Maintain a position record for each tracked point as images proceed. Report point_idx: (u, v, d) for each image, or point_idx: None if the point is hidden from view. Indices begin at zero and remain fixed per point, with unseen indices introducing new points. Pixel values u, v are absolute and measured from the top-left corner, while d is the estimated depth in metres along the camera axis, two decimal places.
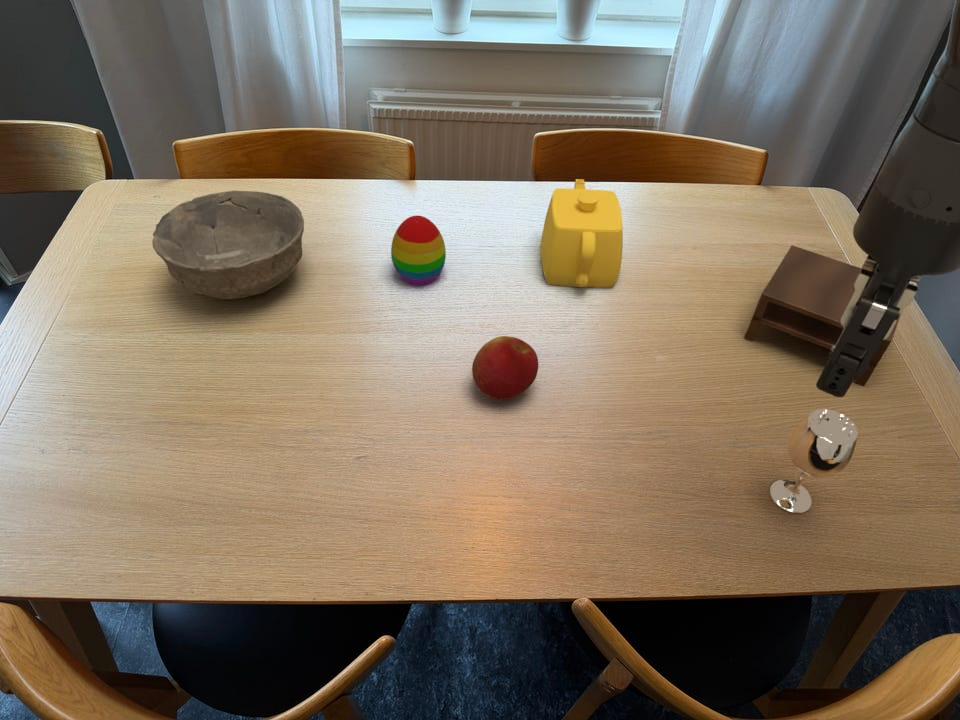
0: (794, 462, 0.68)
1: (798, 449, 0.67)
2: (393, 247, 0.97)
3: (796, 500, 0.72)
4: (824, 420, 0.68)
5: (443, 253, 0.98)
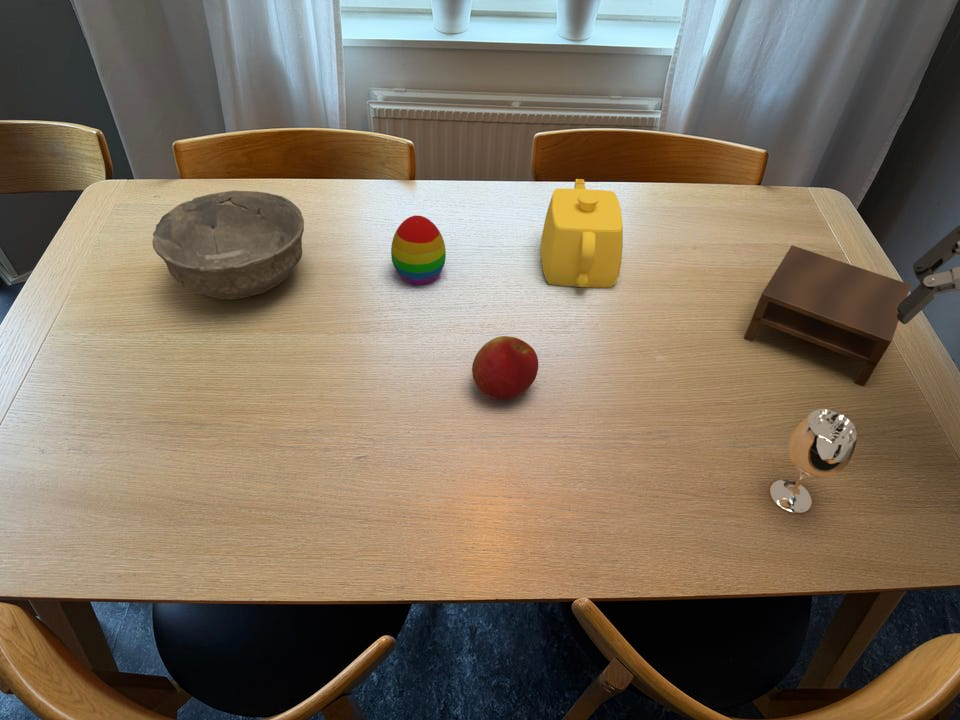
0: (794, 462, 0.68)
1: (798, 449, 0.67)
2: (393, 247, 0.97)
3: (796, 500, 0.72)
4: (824, 420, 0.68)
5: (443, 253, 0.98)
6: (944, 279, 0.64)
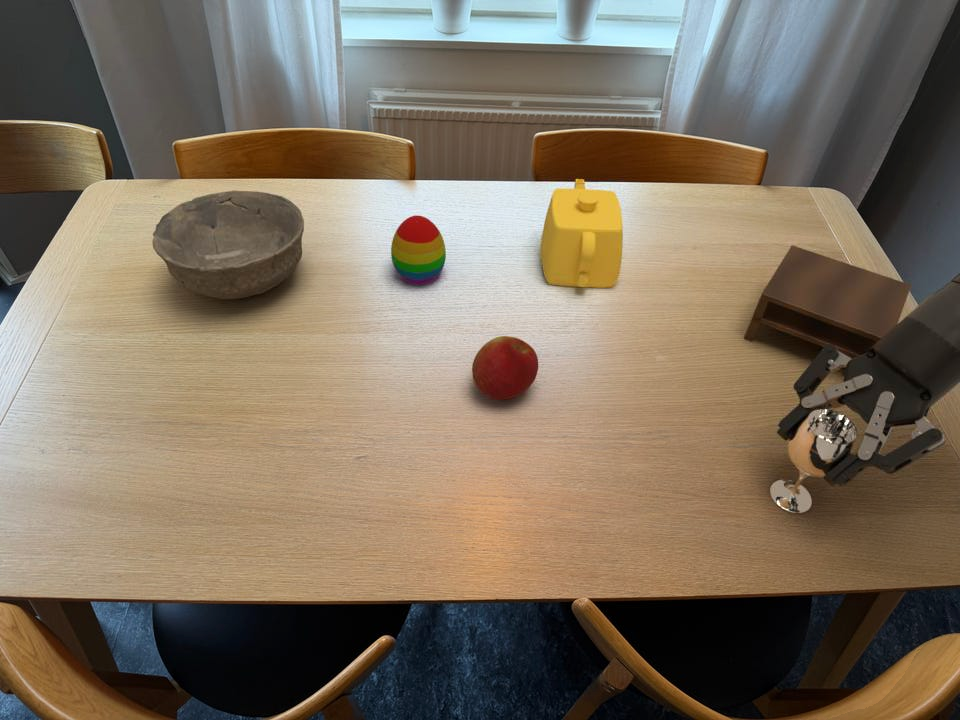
0: (794, 462, 0.68)
1: (798, 449, 0.67)
2: (393, 247, 0.97)
3: (796, 500, 0.72)
4: (824, 420, 0.68)
5: (443, 253, 0.98)
6: (819, 400, 0.67)
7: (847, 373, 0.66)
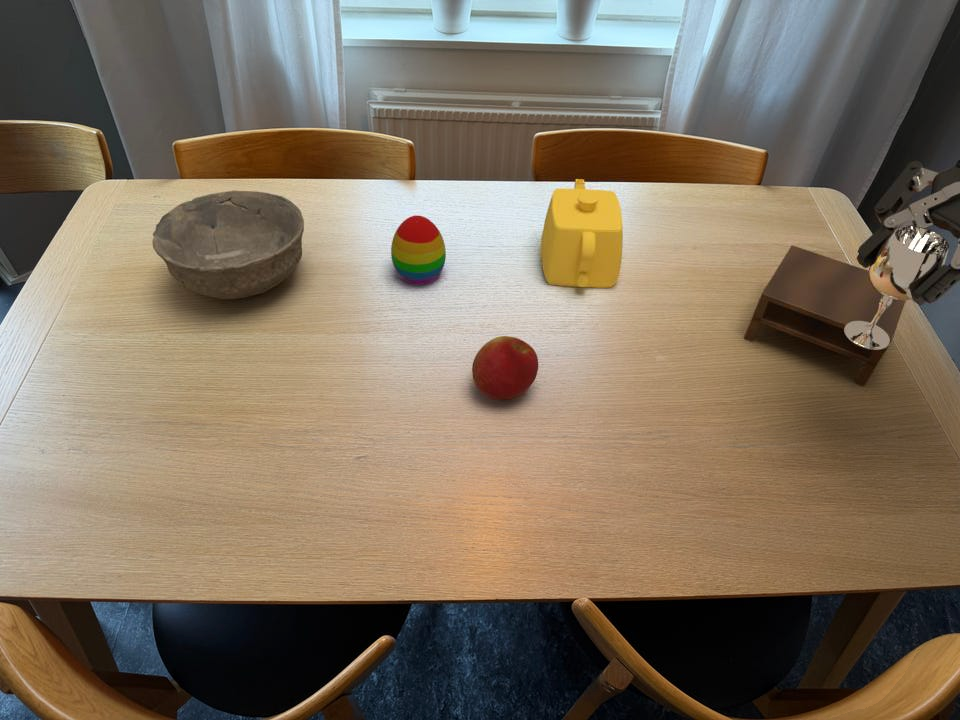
0: (877, 285, 0.64)
1: (882, 269, 0.63)
2: (393, 247, 0.97)
3: (873, 337, 0.68)
4: (908, 241, 0.64)
5: (443, 253, 0.98)
6: (904, 217, 0.63)
7: (935, 187, 0.62)
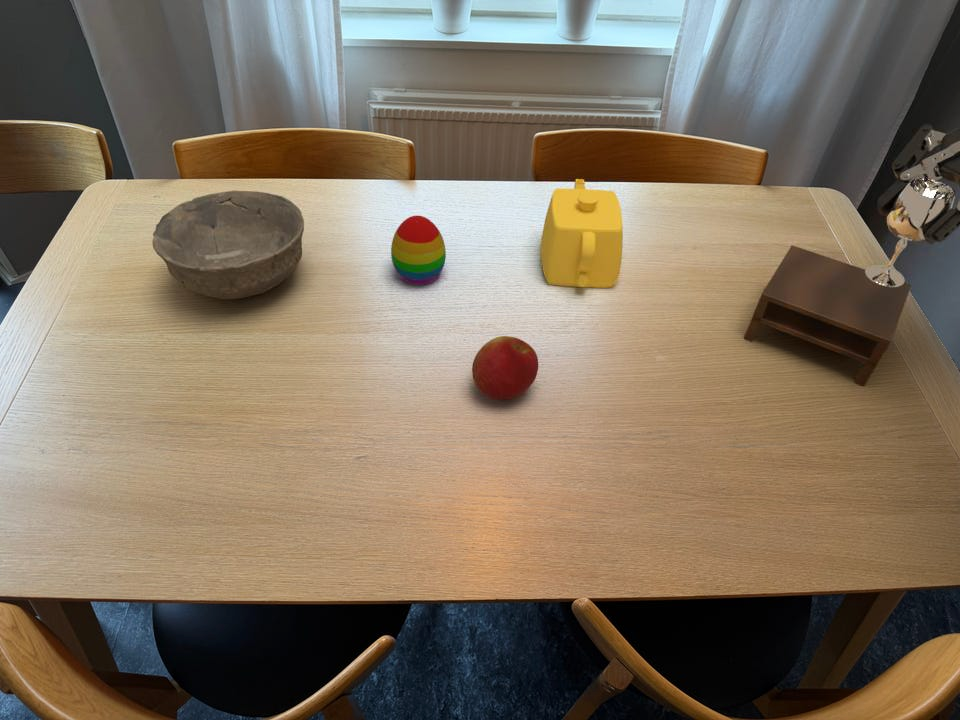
0: (894, 228, 0.75)
1: (899, 214, 0.74)
2: (393, 247, 0.97)
3: (890, 277, 0.80)
4: (920, 192, 0.76)
5: (443, 253, 0.98)
6: (917, 171, 0.75)
7: (944, 145, 0.74)
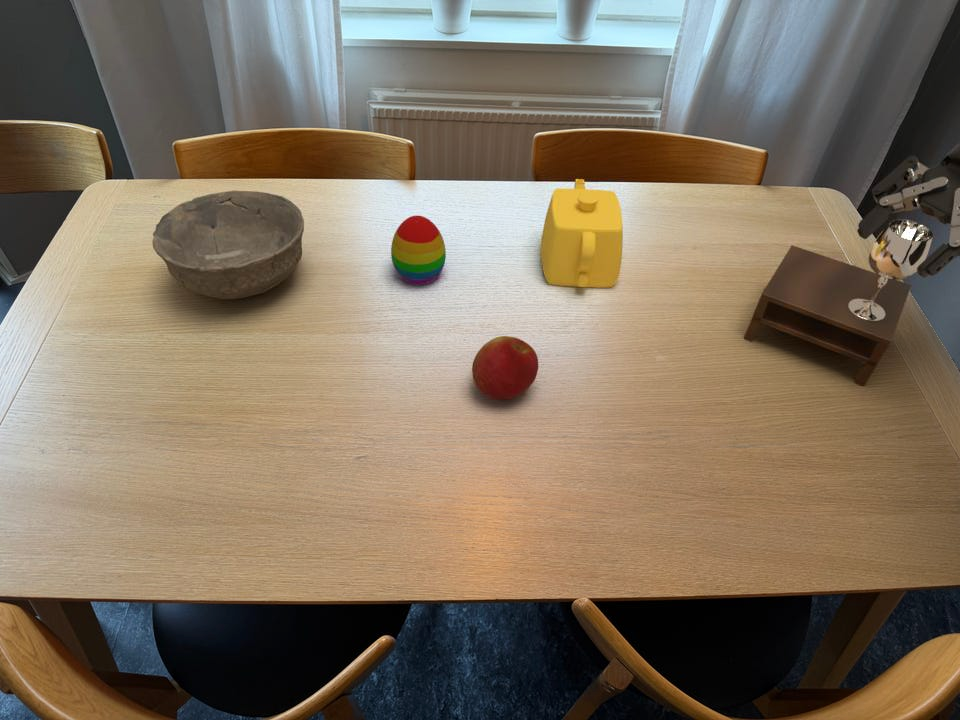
0: (875, 267, 0.79)
1: (879, 253, 0.78)
2: (393, 247, 0.97)
3: (872, 311, 0.84)
4: (900, 232, 0.80)
5: (443, 253, 0.98)
6: (896, 199, 0.78)
7: (924, 181, 0.77)
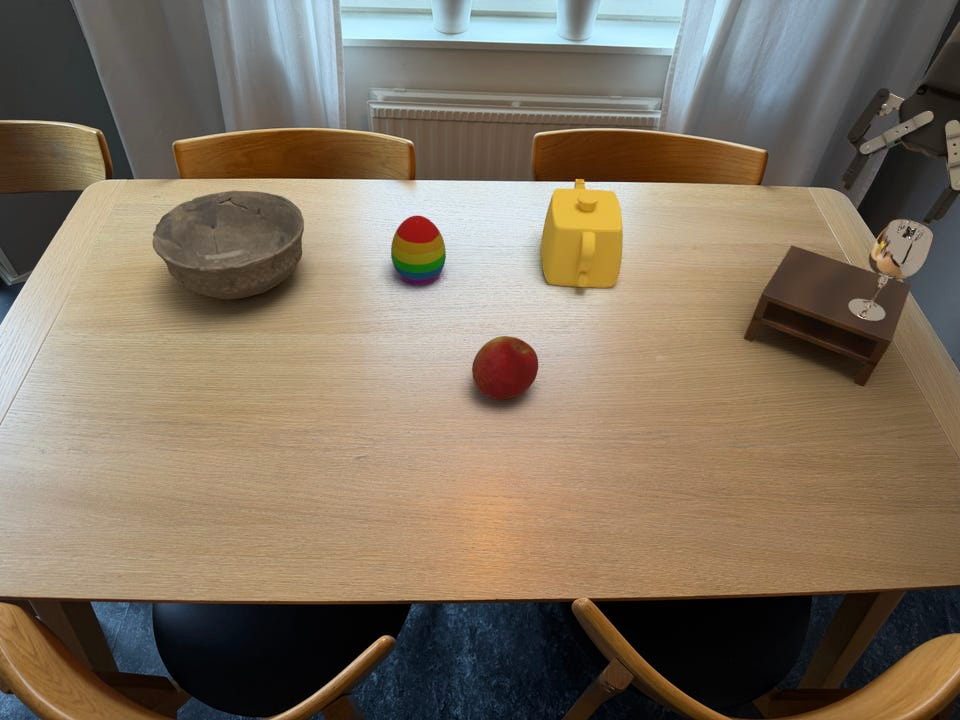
0: (875, 267, 0.79)
1: (879, 253, 0.78)
2: (393, 247, 0.97)
3: (872, 311, 0.84)
4: (900, 232, 0.80)
5: (443, 253, 0.98)
6: (878, 144, 0.70)
7: (904, 117, 0.69)
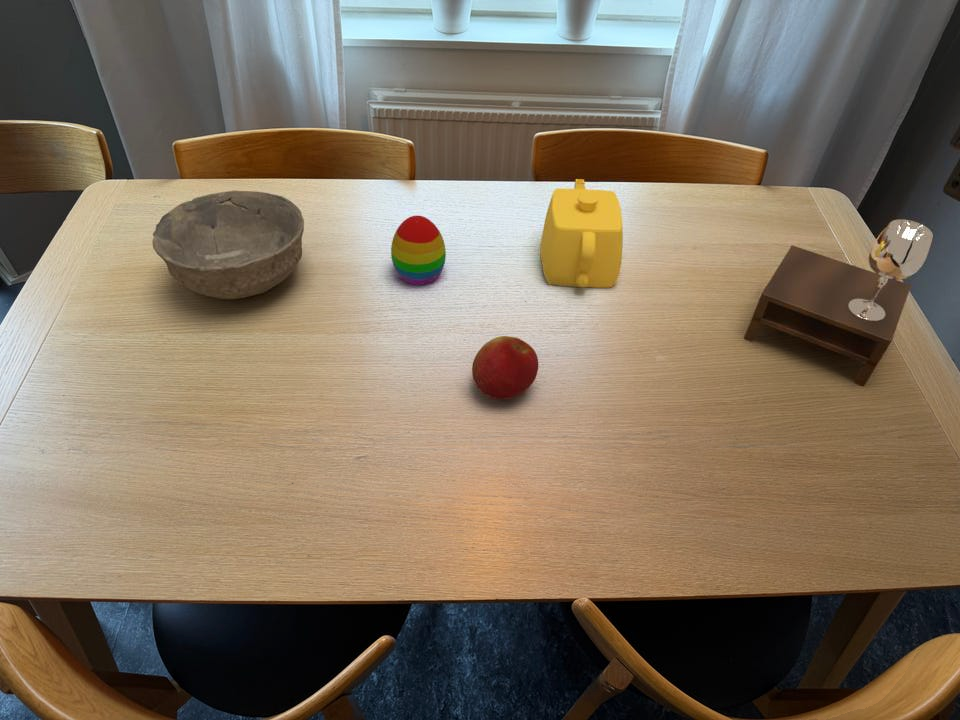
0: (875, 267, 0.79)
1: (879, 253, 0.78)
2: (393, 247, 0.97)
3: (872, 311, 0.84)
4: (900, 232, 0.80)
5: (443, 253, 0.98)
6: None
7: None
